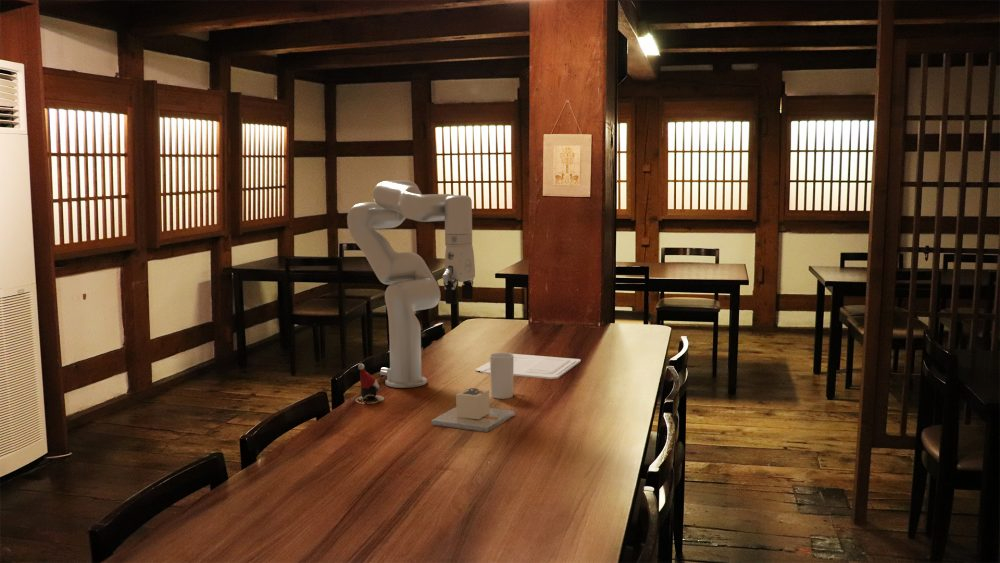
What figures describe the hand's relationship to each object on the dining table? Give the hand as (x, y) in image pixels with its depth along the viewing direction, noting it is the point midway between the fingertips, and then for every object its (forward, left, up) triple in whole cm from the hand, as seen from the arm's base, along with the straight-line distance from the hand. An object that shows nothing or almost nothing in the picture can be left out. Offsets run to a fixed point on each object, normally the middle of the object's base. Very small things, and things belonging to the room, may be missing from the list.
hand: (459, 301), depth 238 cm
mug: (+9, +10, -28) cm, 32 cm away
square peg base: (+12, -16, -28) cm, 35 cm away
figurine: (-24, -10, -29) cm, 39 cm away
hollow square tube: (+12, -16, -27) cm, 34 cm away
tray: (+2, +46, -29) cm, 54 cm away
